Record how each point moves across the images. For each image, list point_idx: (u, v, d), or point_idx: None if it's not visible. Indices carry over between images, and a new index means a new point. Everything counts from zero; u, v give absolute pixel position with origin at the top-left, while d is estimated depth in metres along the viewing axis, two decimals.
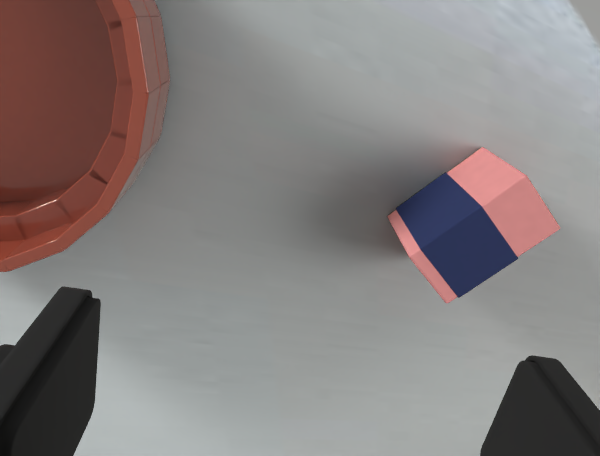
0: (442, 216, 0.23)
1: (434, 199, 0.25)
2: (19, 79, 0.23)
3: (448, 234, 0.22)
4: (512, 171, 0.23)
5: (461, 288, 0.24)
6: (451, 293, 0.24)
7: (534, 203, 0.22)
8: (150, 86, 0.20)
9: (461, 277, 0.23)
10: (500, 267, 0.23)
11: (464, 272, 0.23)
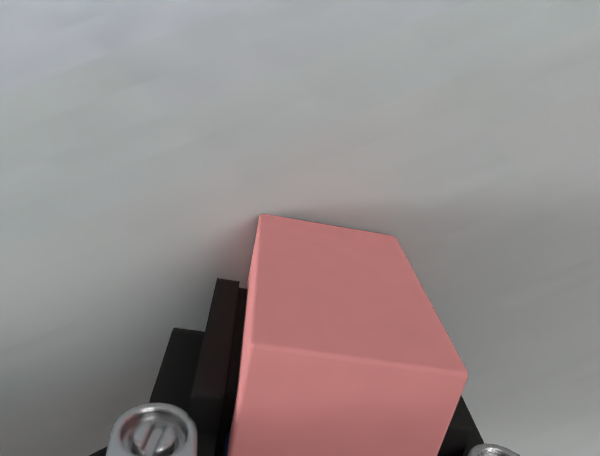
0: None
1: None
2: None
3: None
4: (250, 316, 0.08)
5: None
6: None
7: (341, 377, 0.07)
8: None
9: None
10: None
11: None
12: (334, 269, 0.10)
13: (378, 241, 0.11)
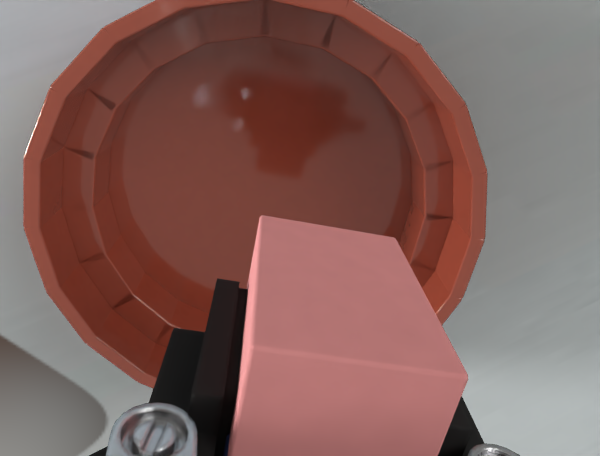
0: None
1: None
2: (306, 185, 0.23)
3: None
4: (250, 318, 0.08)
5: None
6: None
7: (341, 379, 0.07)
8: None
9: None
10: None
11: None
12: (334, 271, 0.10)
13: (378, 242, 0.11)
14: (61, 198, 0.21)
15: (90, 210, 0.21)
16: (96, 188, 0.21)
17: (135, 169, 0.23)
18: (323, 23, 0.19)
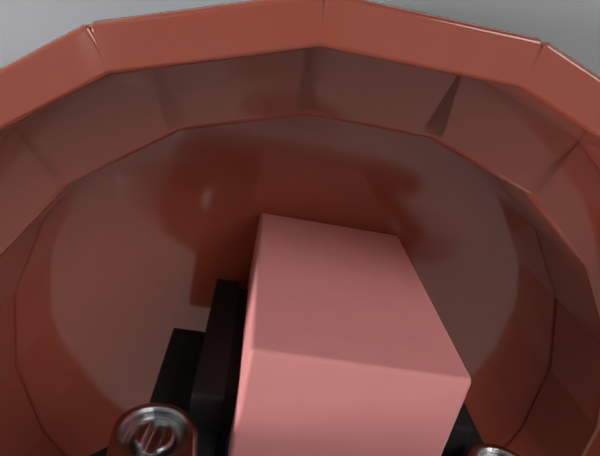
0: None
1: None
2: None
3: None
4: (251, 320, 0.08)
5: None
6: None
7: (342, 383, 0.07)
8: None
9: None
10: None
11: None
12: (335, 270, 0.10)
13: (380, 240, 0.11)
14: None
15: None
16: None
17: (62, 332, 0.13)
18: (435, 85, 0.08)
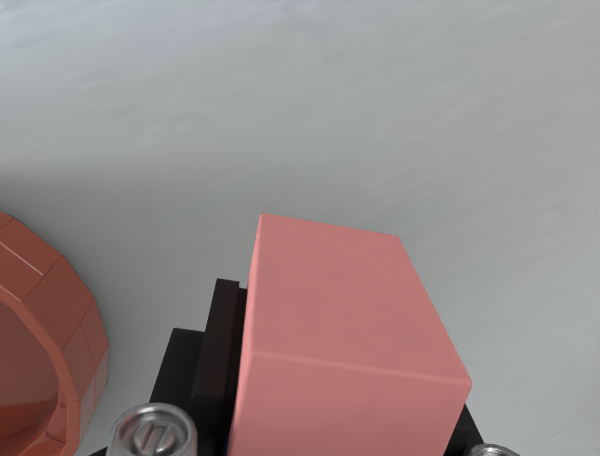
0: None
1: None
2: None
3: None
4: (250, 321, 0.08)
5: None
6: None
7: (341, 385, 0.07)
8: (23, 292, 0.21)
9: None
10: None
11: None
12: (335, 271, 0.09)
13: (381, 241, 0.11)
14: None
15: None
16: None
17: None
18: None
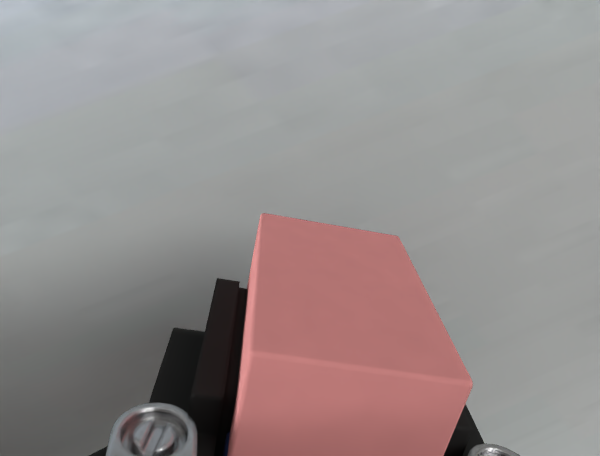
0: None
1: None
2: None
3: None
4: (250, 321, 0.08)
5: None
6: None
7: (342, 386, 0.07)
8: None
9: None
10: None
11: None
12: (335, 271, 0.09)
13: (381, 241, 0.11)
14: None
15: None
16: None
17: None
18: None
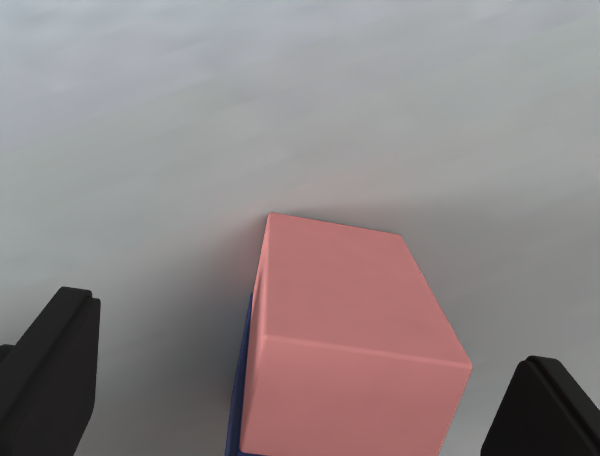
0: None
1: (237, 386, 0.11)
2: None
3: None
4: (262, 311, 0.08)
5: None
6: None
7: (350, 368, 0.08)
8: None
9: None
10: None
11: None
12: (341, 265, 0.10)
13: (384, 238, 0.12)
14: None
15: None
16: None
17: None
18: None
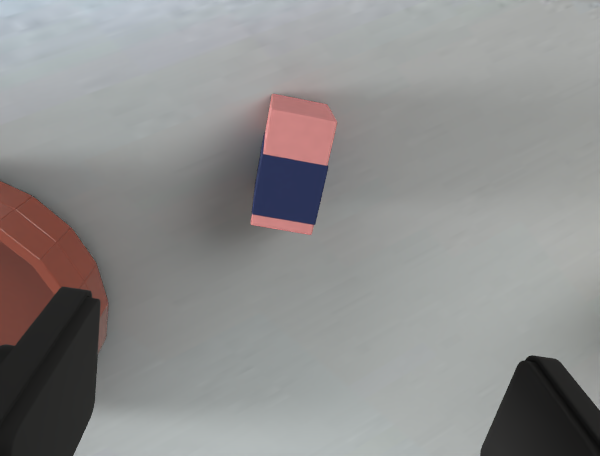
0: (257, 177, 0.27)
1: (259, 162, 0.28)
2: None
3: (260, 190, 0.25)
4: (270, 109, 0.25)
5: (309, 217, 0.26)
6: (306, 225, 0.26)
7: (298, 121, 0.24)
8: (40, 253, 0.27)
9: (302, 210, 0.26)
10: (322, 182, 0.25)
11: (299, 205, 0.26)
12: (299, 105, 0.27)
13: (319, 104, 0.28)
14: None
15: None
16: None
17: None
18: None
